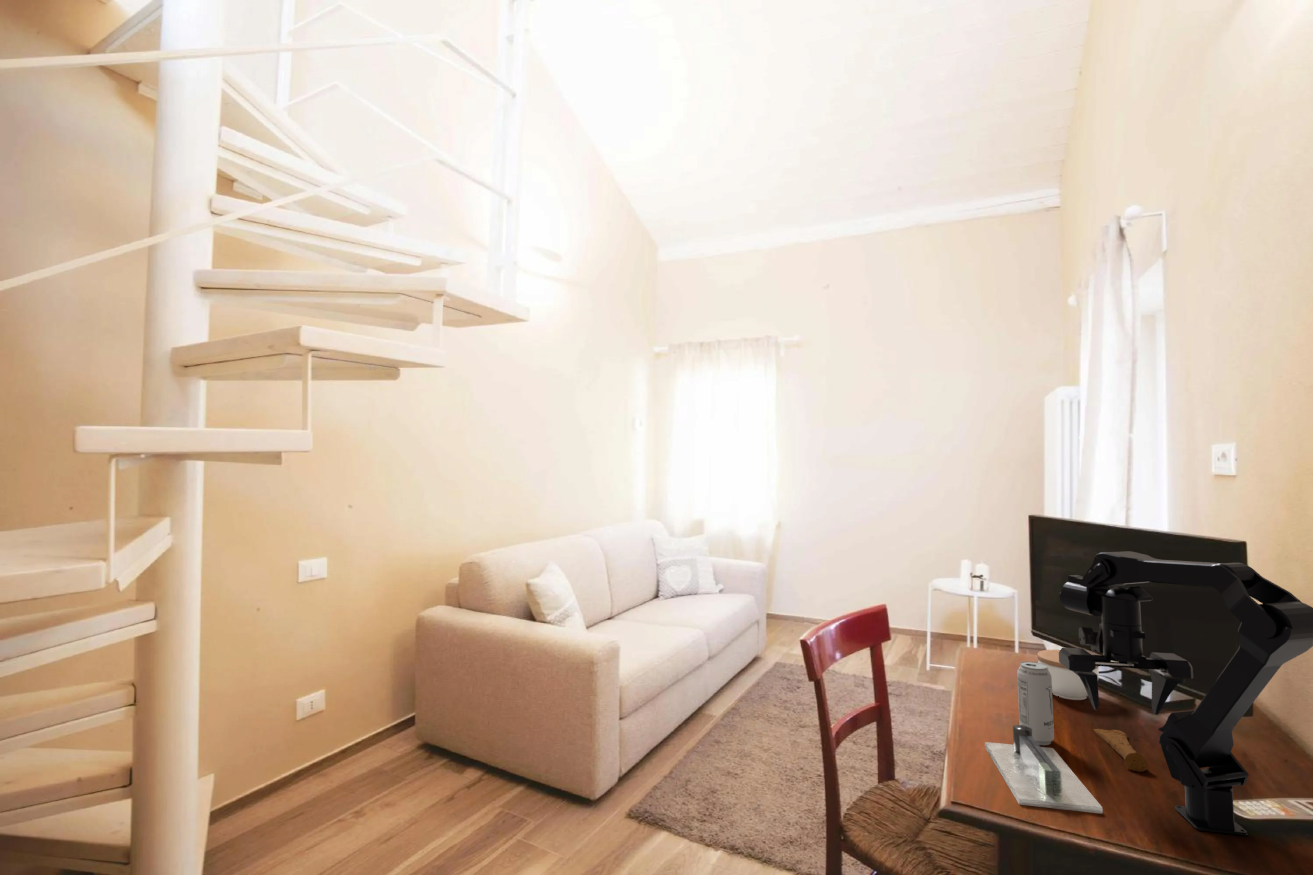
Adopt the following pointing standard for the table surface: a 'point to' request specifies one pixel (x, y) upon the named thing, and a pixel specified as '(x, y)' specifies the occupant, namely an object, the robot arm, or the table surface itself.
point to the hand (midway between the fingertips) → (1125, 711)
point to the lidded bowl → (1063, 677)
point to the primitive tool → (1124, 749)
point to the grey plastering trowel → (1039, 775)
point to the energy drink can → (1036, 701)
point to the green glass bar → (1056, 771)
